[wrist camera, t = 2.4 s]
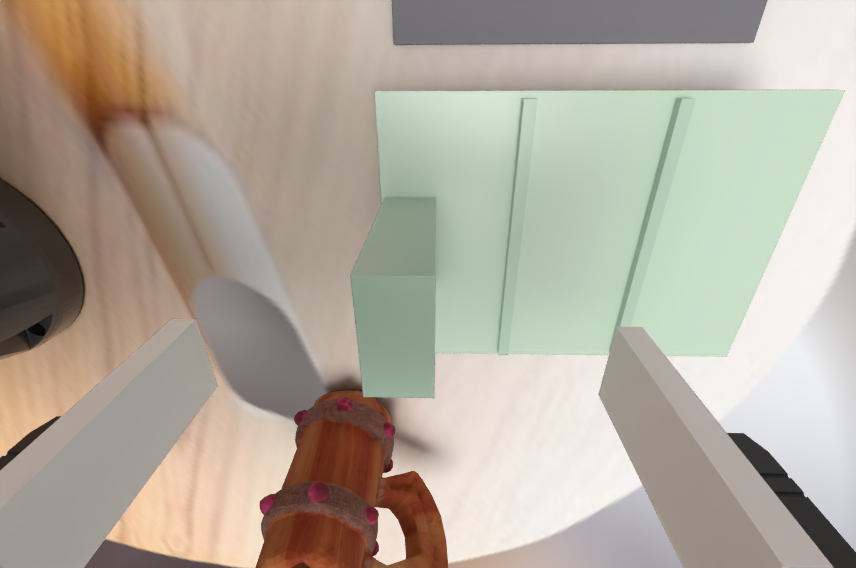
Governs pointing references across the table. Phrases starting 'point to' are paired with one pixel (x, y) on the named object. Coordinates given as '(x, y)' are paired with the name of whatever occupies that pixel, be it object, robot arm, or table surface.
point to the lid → (573, 221)
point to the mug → (347, 493)
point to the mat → (575, 21)
